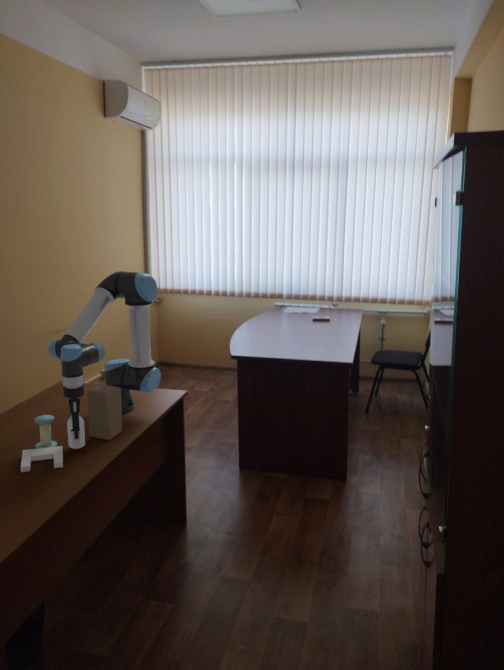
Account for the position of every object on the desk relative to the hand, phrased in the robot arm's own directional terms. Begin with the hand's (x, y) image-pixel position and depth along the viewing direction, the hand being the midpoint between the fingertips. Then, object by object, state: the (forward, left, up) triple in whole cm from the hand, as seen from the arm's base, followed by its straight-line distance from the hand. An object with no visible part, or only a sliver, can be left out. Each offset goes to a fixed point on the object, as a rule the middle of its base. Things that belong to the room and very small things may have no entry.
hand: (76, 441), depth 208 cm
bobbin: (+11, -5, -3) cm, 13 cm away
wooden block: (-12, -11, -3) cm, 16 cm away
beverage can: (0, 0, -2) cm, 2 cm away
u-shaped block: (+12, +7, -3) cm, 15 cm away
